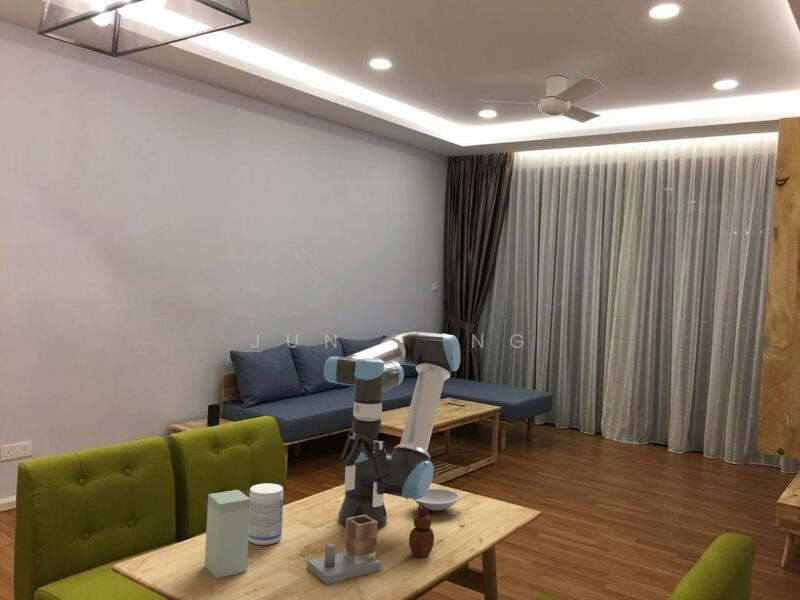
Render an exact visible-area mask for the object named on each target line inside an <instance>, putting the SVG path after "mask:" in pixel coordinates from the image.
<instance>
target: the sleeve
mask: <svg viewBox="0 0 800 600" xmlns="http://www.w3.org/2000/svg"><path fill="white" fill-rule="evenodd" d="M377 526H378V522H377V521H375V520H374V519H372V518H370V517H369V516H367V515H365V514H364V515H360V516H355V517H350V518H346V527H345V534H344V550H343V552H344V556H345V557H347V558H348V559H350V560H351V561H352V562H354V563H355V564H360V563H364V562H368V561H372V560H375V559H377V558H376V557H377V540H378V529H377Z"/></svg>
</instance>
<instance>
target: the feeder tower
mask: <svg viewBox="0 0 800 600" xmlns="http://www.w3.org/2000/svg"><path fill="white" fill-rule="evenodd" d="M250 502H251V499H250V498H249V496H247V495H246V494H245V493H243V492H242V491H241V490H239V489H233V490H227V491H226V490H225V491H222V492H215V493H214V492H213V493H208V495H207V513H206V533H205V552H204V553H205V554H204V567H206V569H207V570H208V571H209V572H210V573H211V574H213V575H214V576H213V575H212V576H213V577H214V578H215V579H219V577H220V578H223V576H224V577H228V575H229V576H232V575H236V574H241V573H245V572H247V571H248V555H249V521H250Z"/></svg>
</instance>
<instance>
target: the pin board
mask: <svg viewBox="0 0 800 600" xmlns="http://www.w3.org/2000/svg"><path fill="white" fill-rule="evenodd" d="M324 548H325V549H324V550H325V551H324V556H321V557H318V558H314V559H309V560H307V569H308V570H309V571H310V572H312V573H313V574H314V576H316V577H317V578H318V579H320V580H321V581H322V582H324V584H326V585H330V584H333V583H337V582H340V581H344V580H345V581H346V580H348V579H351V578H355V577H359V576H362V575H365V574H370V573H374V572H378V571H381V566H382V565H381V563H382V562H381V560H378V559H377V558H376V559H375V560H372V561H368V562H364V563H360V564H355V563H354V562H352V561H351V560H350V559H348V558H347V557H345V556H344V551H342V552H339V553H336V544H333V543H327V544H325V547H324Z"/></svg>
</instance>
